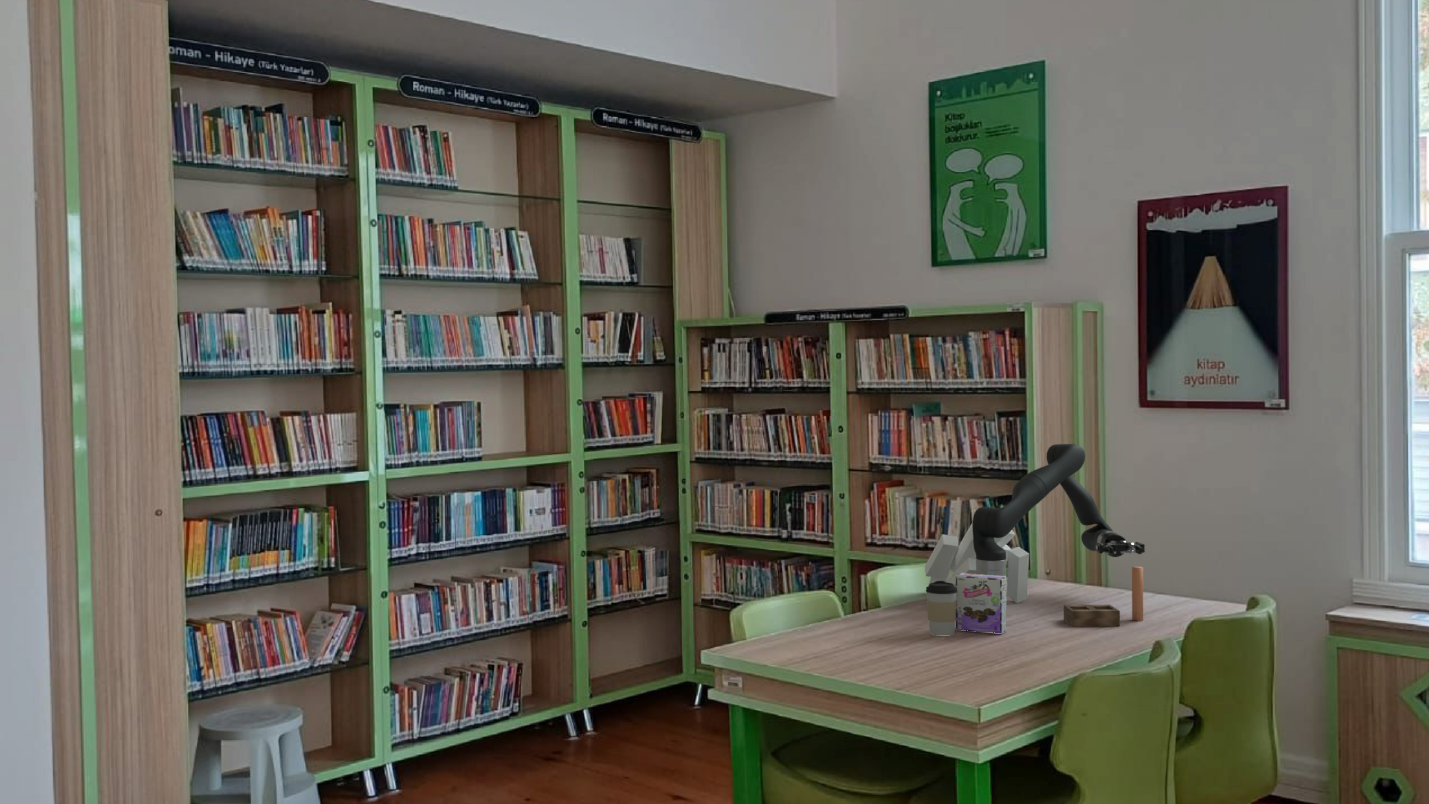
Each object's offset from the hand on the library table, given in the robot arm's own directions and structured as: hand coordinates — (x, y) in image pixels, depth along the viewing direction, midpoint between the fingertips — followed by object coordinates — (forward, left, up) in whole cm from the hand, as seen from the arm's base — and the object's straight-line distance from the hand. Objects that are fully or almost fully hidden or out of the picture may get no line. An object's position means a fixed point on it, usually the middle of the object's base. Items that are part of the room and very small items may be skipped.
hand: (1126, 551), depth 391 cm
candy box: (-50, -26, -20) cm, 60 cm away
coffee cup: (-62, -30, -19) cm, 72 cm away
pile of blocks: (-43, +22, -20) cm, 52 cm away
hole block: (-15, -15, -19) cm, 29 cm away
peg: (0, -11, -19) cm, 22 cm away
